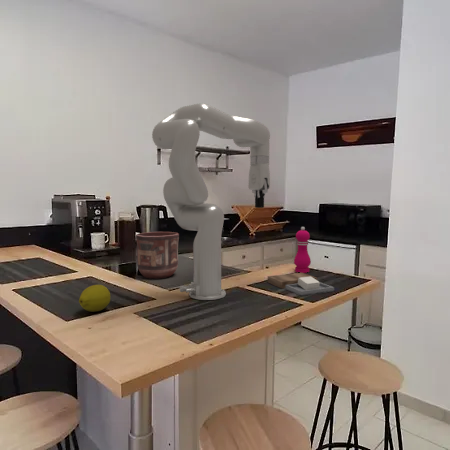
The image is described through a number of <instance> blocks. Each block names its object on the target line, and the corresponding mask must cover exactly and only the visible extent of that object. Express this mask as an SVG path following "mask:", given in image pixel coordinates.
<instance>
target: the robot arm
mask: <svg viewBox="0 0 450 450" xmlns="http://www.w3.org/2000/svg"><path fill="white" fill-rule="evenodd" d="M200 132H203V133H206V134H209V135H210V136H211V135H212V136H213V137H216V138H219V139H223V140H224V139H225V140H232V141H233V143H234V144H235V145H236V147H239V148H250V150H249V151H250V157H249V159H250V160H249V161H250V163H249V165H250V166H249V172H248V185H247V186H248V190H250V191H251V192H252V193H253V194H254V205H255V206H254V207H255V208H256V209H261V208H262V209H264V208H265V196H266V194H267V193H268V192H269V191H268V190H269V189H270V188H271V186H270V185H271V176H270V175H271V174H270V173H271V171H270V138H271V133H270V130H269V128H268V126H267V125H265V124H264V123H262V122H260V121H258V120H256V119H252V118H247V117H243V116H237V115H233V114H228V113H227V112H224V111H222V110H220V109H217V108H216V107H213V106H211V105H209V104H206V103H203V102H202V103H193V104H189V105H185V106H181V107H180V108H178V109H176V110H175V111H173V112H171V113H170V114H169V115H168V116H166V117H164V119H162V120H161V121H159V122H158V123H157V124H156V125H155V126H154V128H153V130H152V134H151V135H152V136H151V138H152V141H153V143H154V145H155V146H156V147H157V148H159V149H161V150H170V154H169V158H168V169H169V172H170V174H171V176H172V177H170V178H169V179H167V180H166V181H165V183H164V185H163V189H162V190H163V191H162V193H163V198H164V201H165V203H166V206H167V207H168V209H169V211H170V213H171V214H172V216H173V218H174V221H176V224H177V225H178V226H179V227H180V228H181V229H182V230H187V231H196V232H197V233H196V235H195V237H194V239H193V243H192V244H193V245H192V252H193V255H192V260H193V261H192V263H193V281H190V284H188V285H181V286H179V292H180V293H186V294H187V293H188V296H189V297H190V298H192V299H194V300H200V301H213V300H214V301H215V300H219V299H222V298H224V297H226V294H227V293H226V292H227V291H226V290H224V289H222V233H223V228H224V227H223V226H224V221H225V215H224V211H223V209H222V208H221V207H220V206H218V204H213V203H206V201H207V200H208V198H209V191H208V187H207V184H206V182H205V180H204V178H203V175H202V173H201V172H200V169H199V167H198V165H197V162H196V151H197V145H198V142H199V139H200V136H201V135H200Z"/></svg>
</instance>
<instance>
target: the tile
mask: <svg viewBox="0 0 450 450" xmlns="http://www.w3.org/2000/svg"><path fill="white" fill-rule="evenodd" d="M311 276H312V275H311ZM311 276H310V277H301V278H298V285H300V286H301V287H302V288H304V289H305V290H312V289H319V285H320V282H321V281H319V280H318V279H317V280H316V279H314V278H313V277H311Z"/></svg>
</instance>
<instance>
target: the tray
mask: <svg viewBox="0 0 450 450" xmlns="http://www.w3.org/2000/svg"><path fill="white" fill-rule="evenodd" d="M319 282H320V285H319V289H312V290H305V289H304V288H302V287H301V286H300V285H298V283H297V284H289V285H285V288H284V290H287V291H289V292H292V293H293V294H295V295H298V296H300V297H303V296H304V297H305V296H312V295H317V294H324V293H325V294H326V293H332V292H335V287H334V286H332V285H330V284H329V285H328V284H326V283H323V282H321V281H319Z"/></svg>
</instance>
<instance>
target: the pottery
mask: <svg viewBox="0 0 450 450" xmlns="http://www.w3.org/2000/svg"><path fill="white" fill-rule="evenodd" d="M179 239H180V233H178V232H176V231H175V232H174V231H173V232H172V231H150V232H149V231H147V232H141V233H137V234H136V235H135V240H136V250H137V251H136V252H137V253H136V254H137V269H138V271H139V273H140V274H141V275H142V276H143V278H146V279H152V280H154V279H155V280H158V279H159V280H160V279H166V278H170V277H172V276H173V275H174V274H175V273H176V271H177V269H178V267H179V252H178V251H179V250H178V249H179Z"/></svg>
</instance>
